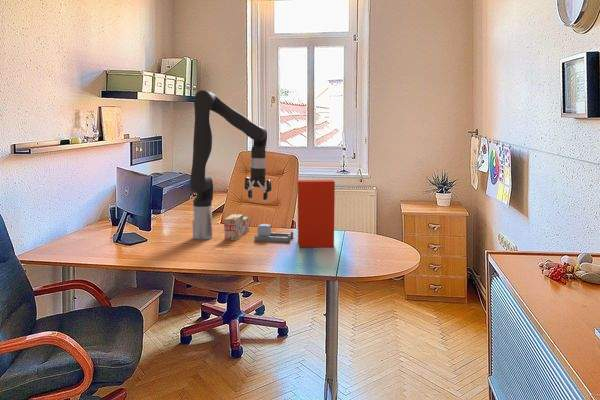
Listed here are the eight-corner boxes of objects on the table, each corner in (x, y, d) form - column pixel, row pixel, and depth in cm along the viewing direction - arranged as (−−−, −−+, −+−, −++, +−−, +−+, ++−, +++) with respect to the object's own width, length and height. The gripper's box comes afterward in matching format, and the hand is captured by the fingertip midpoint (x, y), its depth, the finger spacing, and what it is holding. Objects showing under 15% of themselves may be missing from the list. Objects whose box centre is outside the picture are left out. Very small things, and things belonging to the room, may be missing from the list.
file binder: (297, 243, 243) (297, 179, 237) (331, 243, 243) (332, 179, 238) (298, 247, 235) (298, 181, 229) (333, 247, 236) (334, 181, 230)
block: (257, 240, 245) (257, 225, 244) (260, 237, 250) (260, 223, 249) (268, 240, 244) (268, 226, 243) (271, 238, 249) (270, 224, 248)
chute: (254, 243, 243) (254, 234, 243) (259, 238, 252) (259, 230, 252) (289, 244, 240) (289, 235, 240) (293, 240, 249) (293, 231, 249)
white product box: (237, 233, 266) (237, 210, 264) (248, 233, 265) (248, 211, 263) (224, 242, 245) (223, 218, 243) (236, 243, 244) (235, 219, 242)
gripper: (242, 166, 242) (241, 198, 245) (266, 168, 236) (266, 201, 239) (250, 165, 249) (249, 196, 252) (274, 167, 243) (273, 199, 245)
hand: (257, 199), depth 245 cm, fingers open, 8 cm apart
